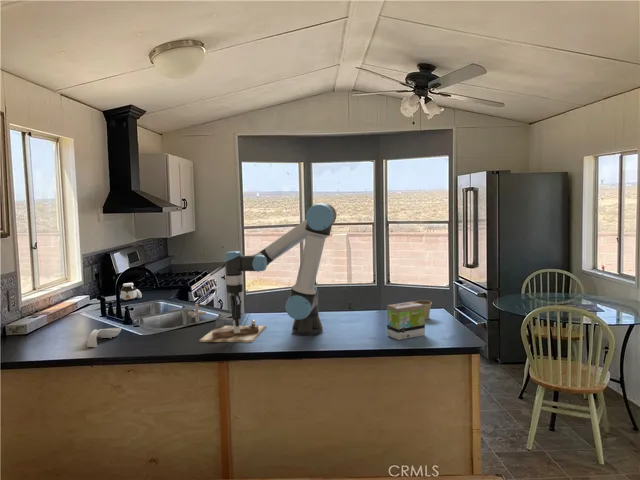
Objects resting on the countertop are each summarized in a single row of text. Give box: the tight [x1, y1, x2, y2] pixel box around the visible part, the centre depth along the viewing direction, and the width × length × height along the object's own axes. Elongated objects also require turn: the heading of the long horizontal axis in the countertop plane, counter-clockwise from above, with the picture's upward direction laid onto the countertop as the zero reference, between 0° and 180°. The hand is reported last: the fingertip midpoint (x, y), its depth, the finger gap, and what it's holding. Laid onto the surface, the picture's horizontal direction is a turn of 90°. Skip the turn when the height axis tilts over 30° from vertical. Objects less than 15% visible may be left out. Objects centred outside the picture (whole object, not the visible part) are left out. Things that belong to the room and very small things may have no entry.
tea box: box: [386, 301, 426, 341], centre depth 221 cm, size 15×10×15 cm
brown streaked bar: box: [212, 324, 259, 339], centre depth 230 cm, size 22×5×3 cm, turn 114°
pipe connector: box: [187, 304, 207, 324], centre depth 262 cm, size 10×10×10 cm
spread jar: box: [120, 282, 143, 302], centre depth 336 cm, size 12×11×12 cm
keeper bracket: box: [215, 316, 233, 328], centre depth 245 cm, size 11×3×5 cm, turn 56°
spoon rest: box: [86, 327, 122, 348], centre depth 234 cm, size 24×12×7 cm, turn 0°
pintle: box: [251, 319, 256, 326], centre depth 233 cm, size 2×2×3 cm
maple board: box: [199, 325, 267, 343], centre depth 235 cm, size 26×25×1 cm
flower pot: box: [414, 300, 433, 320], centre depth 252 cm, size 9×9×9 cm
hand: (237, 332), depth 227 cm, fingers closed
